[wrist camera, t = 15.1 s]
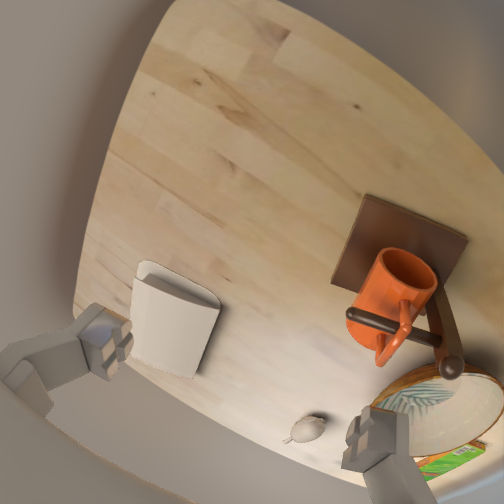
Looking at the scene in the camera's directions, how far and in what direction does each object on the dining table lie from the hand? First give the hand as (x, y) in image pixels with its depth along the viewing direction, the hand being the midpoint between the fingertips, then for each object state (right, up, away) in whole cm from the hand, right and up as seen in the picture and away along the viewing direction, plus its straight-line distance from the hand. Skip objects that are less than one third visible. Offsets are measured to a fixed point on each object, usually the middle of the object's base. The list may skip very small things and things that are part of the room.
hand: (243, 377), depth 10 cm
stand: (+18, +3, +27) cm, 33 cm away
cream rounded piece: (+12, -31, +48) cm, 59 cm away
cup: (+13, -5, +21) cm, 26 cm away
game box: (+47, -46, +45) cm, 79 cm away
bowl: (+31, -19, +35) cm, 51 cm away
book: (-14, -8, +45) cm, 48 cm away
